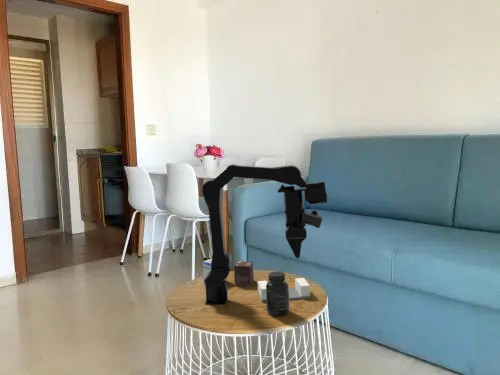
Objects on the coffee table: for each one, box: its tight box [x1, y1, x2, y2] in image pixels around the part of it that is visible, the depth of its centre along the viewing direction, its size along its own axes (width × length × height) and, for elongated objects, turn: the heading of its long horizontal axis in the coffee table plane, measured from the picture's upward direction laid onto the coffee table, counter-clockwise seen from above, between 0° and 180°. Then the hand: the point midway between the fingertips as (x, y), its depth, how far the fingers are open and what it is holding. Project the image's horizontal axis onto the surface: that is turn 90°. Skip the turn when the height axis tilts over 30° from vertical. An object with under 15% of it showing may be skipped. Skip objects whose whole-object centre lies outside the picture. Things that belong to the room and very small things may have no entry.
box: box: [233, 260, 255, 287], centre depth 154 cm, size 6×6×7 cm
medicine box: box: [201, 258, 227, 286], centre depth 155 cm, size 8×4×9 cm, turn 141°
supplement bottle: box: [265, 270, 290, 317], centre depth 126 cm, size 7×7×12 cm
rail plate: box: [257, 277, 311, 303], centre depth 140 cm, size 16×9×4 cm, turn 97°
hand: (297, 254), depth 133 cm, fingers open, 9 cm apart
